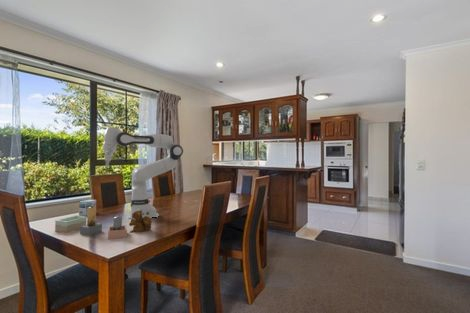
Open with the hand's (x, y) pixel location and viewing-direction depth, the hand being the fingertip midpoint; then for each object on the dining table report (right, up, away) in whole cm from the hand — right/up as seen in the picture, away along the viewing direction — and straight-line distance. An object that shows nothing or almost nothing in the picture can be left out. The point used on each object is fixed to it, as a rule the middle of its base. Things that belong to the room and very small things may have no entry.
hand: (106, 167), depth 180 cm
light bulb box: (-24, -39, +15) cm, 48 cm away
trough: (-10, -38, -24) cm, 46 cm away
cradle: (+7, -39, -32) cm, 51 cm away
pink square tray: (+25, -40, -36) cm, 59 cm away
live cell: (+7, -34, -32) cm, 47 cm away
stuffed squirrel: (+35, -40, -24) cm, 58 cm away
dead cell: (+25, -39, -36) cm, 59 cm away
